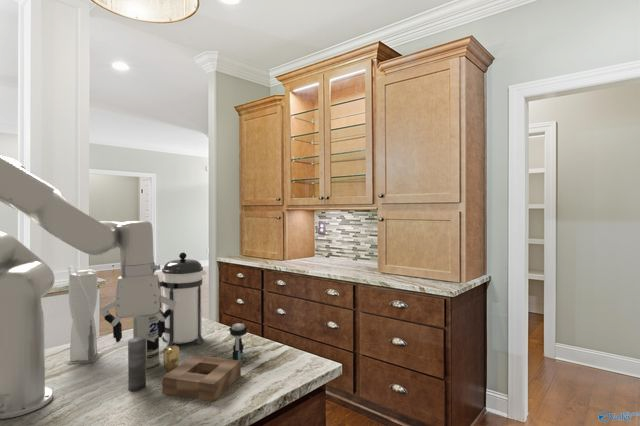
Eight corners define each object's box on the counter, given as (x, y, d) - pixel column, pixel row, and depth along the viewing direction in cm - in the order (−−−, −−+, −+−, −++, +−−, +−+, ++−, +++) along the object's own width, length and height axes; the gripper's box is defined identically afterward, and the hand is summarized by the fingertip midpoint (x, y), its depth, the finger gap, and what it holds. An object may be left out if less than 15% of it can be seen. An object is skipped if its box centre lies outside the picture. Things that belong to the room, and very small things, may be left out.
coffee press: (176, 332, 137) (176, 248, 136) (215, 337, 132) (215, 250, 131) (139, 349, 120) (139, 255, 119) (182, 356, 115) (182, 257, 114)
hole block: (213, 401, 89) (213, 384, 89) (162, 393, 93) (162, 377, 93) (240, 375, 103) (240, 360, 103) (194, 369, 106) (194, 355, 106)
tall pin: (138, 392, 93) (138, 343, 93) (124, 390, 94) (124, 342, 94) (149, 384, 97) (149, 338, 97) (136, 382, 98) (135, 336, 98)
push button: (232, 352, 118) (232, 320, 118) (249, 352, 118) (249, 320, 118) (227, 361, 112) (227, 327, 111) (245, 361, 112) (245, 327, 112)
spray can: (149, 370, 105) (149, 298, 105) (127, 368, 107) (127, 297, 106) (163, 361, 112) (163, 293, 111) (143, 358, 113) (143, 292, 113)
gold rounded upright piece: (173, 373, 103) (173, 352, 103) (160, 372, 104) (160, 350, 104) (182, 367, 107) (182, 346, 107) (169, 365, 108) (169, 345, 108)
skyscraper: (61, 365, 109) (60, 268, 108) (74, 354, 117) (73, 263, 116) (93, 363, 110) (92, 267, 109) (104, 352, 118) (103, 263, 117)
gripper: (175, 265, 101) (178, 329, 102) (103, 270, 96) (105, 336, 97) (173, 270, 94) (175, 339, 94) (94, 275, 89) (97, 347, 90)
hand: (140, 337), depth 96 cm, fingers open, 9 cm apart
